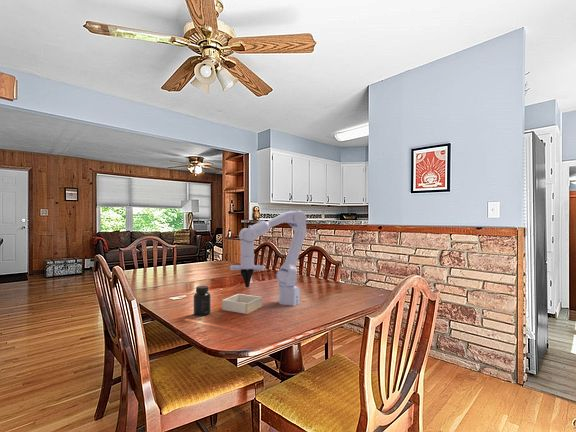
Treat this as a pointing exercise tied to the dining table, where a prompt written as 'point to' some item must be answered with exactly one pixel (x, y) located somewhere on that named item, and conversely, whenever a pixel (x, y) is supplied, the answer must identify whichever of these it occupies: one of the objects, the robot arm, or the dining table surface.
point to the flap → (253, 305)
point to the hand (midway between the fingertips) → (247, 286)
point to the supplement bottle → (202, 301)
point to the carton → (237, 303)
